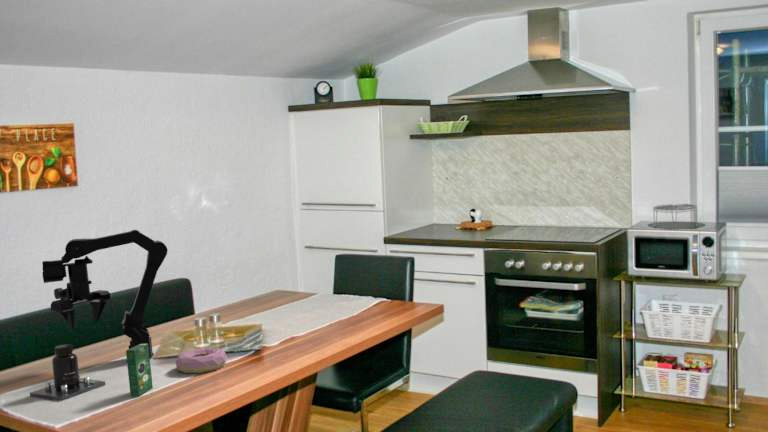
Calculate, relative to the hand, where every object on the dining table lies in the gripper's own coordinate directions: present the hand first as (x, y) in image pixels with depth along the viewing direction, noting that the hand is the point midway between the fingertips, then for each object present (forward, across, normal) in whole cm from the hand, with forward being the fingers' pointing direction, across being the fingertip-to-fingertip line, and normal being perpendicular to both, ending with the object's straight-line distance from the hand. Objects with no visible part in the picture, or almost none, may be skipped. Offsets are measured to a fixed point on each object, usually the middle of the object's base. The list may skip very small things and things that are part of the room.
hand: (84, 326), depth 255 cm
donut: (+13, -10, +40) cm, 43 cm away
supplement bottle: (+12, +20, +16) cm, 29 cm away
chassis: (+13, +20, +16) cm, 29 cm away
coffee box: (+13, +14, +41) cm, 45 cm away
